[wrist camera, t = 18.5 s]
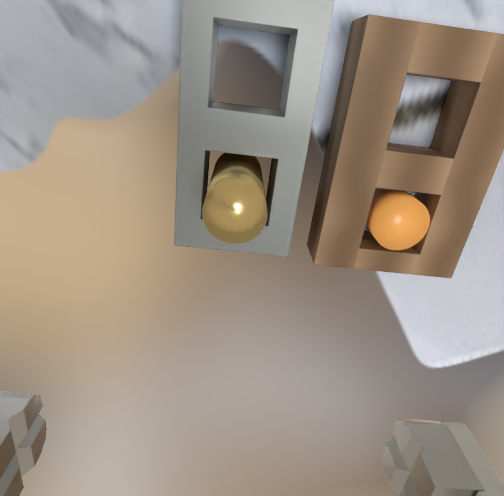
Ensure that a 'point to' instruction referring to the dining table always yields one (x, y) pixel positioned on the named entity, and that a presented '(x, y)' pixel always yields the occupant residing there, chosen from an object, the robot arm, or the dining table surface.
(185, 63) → the rack
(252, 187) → the gold metal peg
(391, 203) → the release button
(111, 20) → the dining table surface
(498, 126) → the socket base
